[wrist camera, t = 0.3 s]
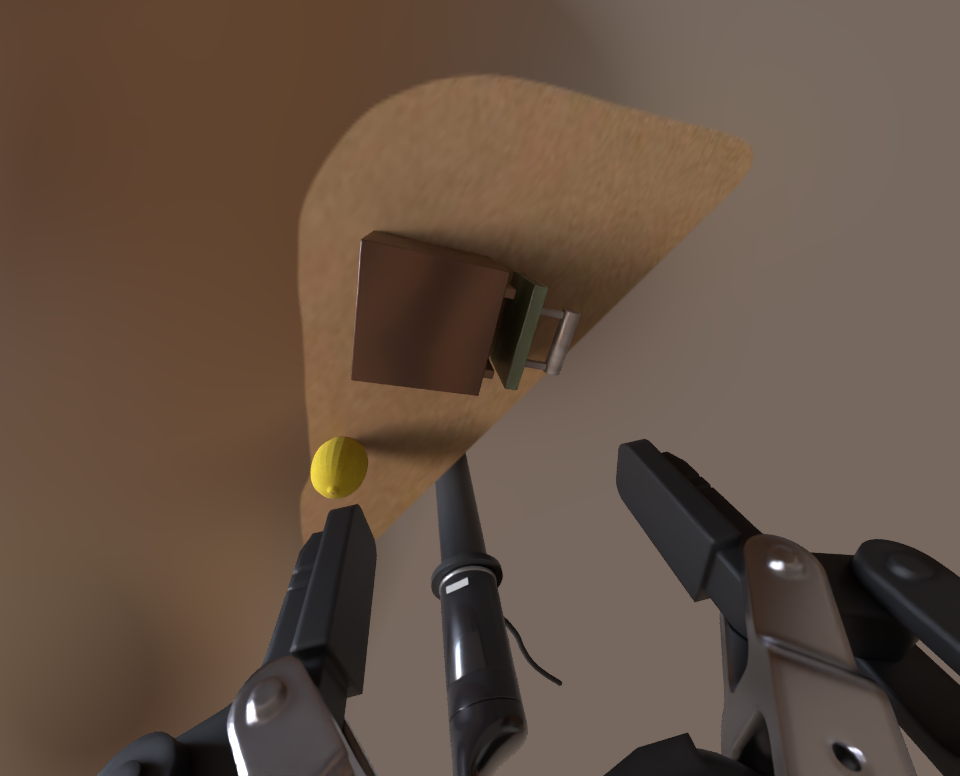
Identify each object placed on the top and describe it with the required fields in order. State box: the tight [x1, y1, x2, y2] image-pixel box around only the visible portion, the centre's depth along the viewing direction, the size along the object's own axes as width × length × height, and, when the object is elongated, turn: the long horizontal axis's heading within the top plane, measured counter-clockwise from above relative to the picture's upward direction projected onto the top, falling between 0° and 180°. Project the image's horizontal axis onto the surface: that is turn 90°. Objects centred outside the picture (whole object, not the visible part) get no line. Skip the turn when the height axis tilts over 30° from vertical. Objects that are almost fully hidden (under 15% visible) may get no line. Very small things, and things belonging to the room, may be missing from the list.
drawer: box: [483, 271, 581, 390], centre depth 32 cm, size 14×9×7 cm
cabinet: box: [351, 231, 510, 396], centre depth 30 cm, size 11×11×9 cm
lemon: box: [311, 437, 368, 498], centre depth 37 cm, size 6×6×8 cm
